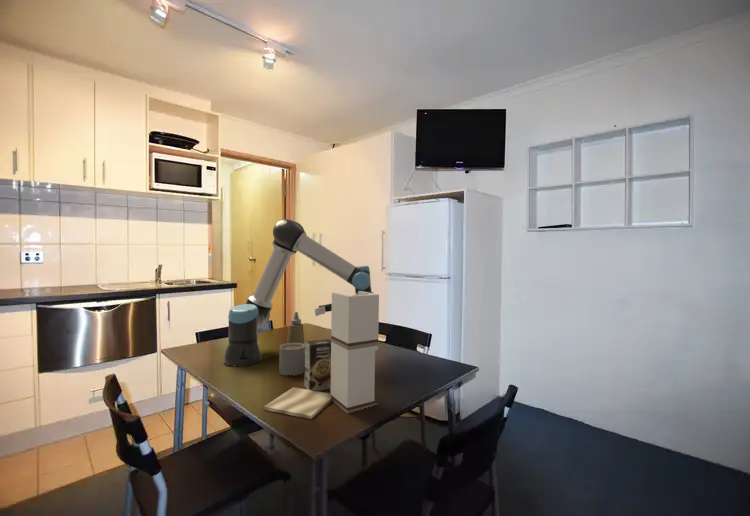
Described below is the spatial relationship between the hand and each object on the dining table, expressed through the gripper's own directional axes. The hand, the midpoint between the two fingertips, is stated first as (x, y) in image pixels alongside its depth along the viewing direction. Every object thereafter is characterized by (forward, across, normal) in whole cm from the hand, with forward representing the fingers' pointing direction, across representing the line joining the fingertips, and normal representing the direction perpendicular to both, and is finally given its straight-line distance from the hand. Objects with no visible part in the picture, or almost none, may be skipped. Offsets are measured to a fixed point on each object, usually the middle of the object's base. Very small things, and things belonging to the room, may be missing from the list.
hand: (330, 312), depth 135 cm
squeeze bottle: (-22, +34, -22) cm, 46 cm away
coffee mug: (+4, +16, -23) cm, 28 cm away
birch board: (+27, -3, -23) cm, 36 cm away
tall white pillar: (+19, -17, -26) cm, 36 cm away
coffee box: (+14, -1, -24) cm, 28 cm away
